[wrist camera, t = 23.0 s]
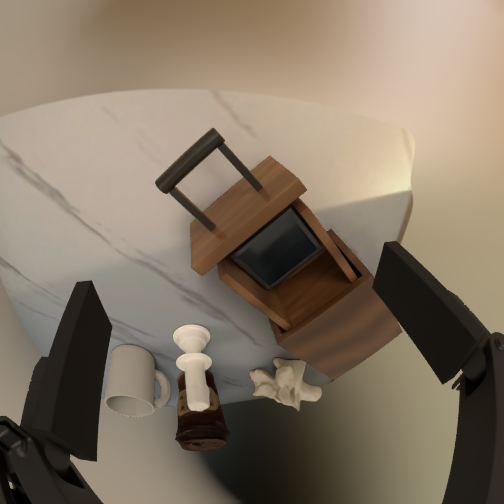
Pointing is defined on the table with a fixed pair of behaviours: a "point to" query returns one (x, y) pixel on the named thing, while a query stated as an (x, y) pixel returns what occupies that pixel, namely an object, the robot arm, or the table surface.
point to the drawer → (247, 223)
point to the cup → (134, 382)
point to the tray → (276, 249)
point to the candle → (194, 364)
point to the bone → (285, 383)
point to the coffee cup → (200, 420)
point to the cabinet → (342, 325)
